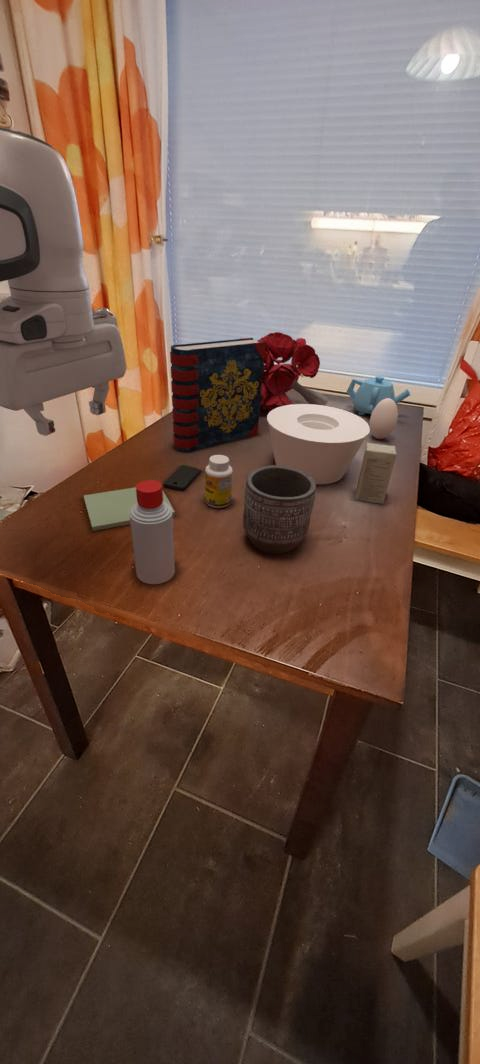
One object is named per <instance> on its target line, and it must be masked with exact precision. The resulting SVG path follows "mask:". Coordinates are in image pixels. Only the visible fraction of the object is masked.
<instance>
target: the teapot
mask: <svg viewBox="0 0 480 1064" xmlns="http://www.w3.org/2000/svg"><path fill="white" fill-rule="evenodd" d="M356 385H358V386H359V387H358V389H357V390H356V391H355V390H354V389H355V387H356ZM394 388H395V387H394V384H393V383H392V381H390V380H386V379H385V378H384V376H382V375H376V376H375V378H372V377H369V378H366V379H365V380H361V379H358V378H355V377H353V378H352V380H351V381H350V383H349V385H348V387H347V390H346V394H347V395H348V396H349V398H350V399H351V400H352V404H353V407H354V409H355V410H356V411H358V412H357V414H358V416H359V415H360V416H365V415H366V414H368V415H371V414H372V412H373V410H374V409H375V407H376V406H377V404H378V403H379V402H380V401H382V400H384V399H386V398H390V399H392V400H393V401H394V402H395V404H396V405H398V404H399V403H401V402H402V401H404V400H405V399H407V398H408V397H410V396H411V392H410V391H409V389H405V390H403V391H402V392H400V393H399V394H397V396H396V395H395V389H394Z"/></svg>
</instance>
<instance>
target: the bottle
mask: <svg viewBox="0 0 480 1064" xmlns="http://www.w3.org/2000/svg"><path fill="white" fill-rule="evenodd" d="M129 515H130V524H129V525H130V532H131V540H132V549H133V559H134V566H135V575H136V577H137V579H138V580H139V581H140V582H142V583H144V584H148V585H161V584H164V583H166V582H168V581H170V580H171V579H172V578H173V577H174V575H175V574H176V573H175V572H176V566H175V565H176V564H175V562H176V561H175V541H174V539H175V538H174V518H173V517H174V516H173V514H172V508H171V507H170V506H169V505H168V504H167V503H166V502H163V503H162V505H161V506H159V507H157V508H153V509H145V508H142V507H140V506H139V505H138V503H136V504H135V505H134V506H133V507H132V508H131V510H130V513H129Z"/></svg>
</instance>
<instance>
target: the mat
mask: <svg viewBox="0 0 480 1064" xmlns="http://www.w3.org/2000/svg"><path fill="white" fill-rule="evenodd" d="M83 501H84V504H85V508H86V511H87V515H88V519H89V523H90V526H91V529H92V532H95V531H96V532H97V531H101V530H106V529H112V528H117V527H123V526H127V525H131V524H130V515H129V513H130V510H131V508H132V507H133V506H134V505H135V504H136V503H138V502H137V496H136V486H135V487H130V488H129V487H128V488H122V489H115V490H111V491H110V490H109V491H103V492H97V493H90V494H84V495H83ZM163 502H166V503H167V504H168V505H169V506H170V507H171V508H172V514H173V517H176V511H175V509H174V508H173V506H172V504H171V502H170V500H169V498H168V497H167V495H166V494H165V492H164V490H163Z"/></svg>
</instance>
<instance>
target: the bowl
mask: <svg viewBox="0 0 480 1064" xmlns="http://www.w3.org/2000/svg"><path fill="white" fill-rule="evenodd" d="M266 420H267V426H268V431H269V437H270V442H271V446H272V453H273V457H274V461H275V465H278V466H286V467H291V468H295V469H298V470H301V471H303V472H305V473H307V474H308V475H310V476H311V477H312V478H313V479H314V481H315V483H316V485H328V484H332V483H336V482H338V481H340V480H341V479H343V477H344V476H345V474H346V472H347V471H348V469H349V467H350V465H351V464H352V462H353V460H354V458H355V457H356V455H357V453H358V452H359V450H360V448H361V447H362V445H363V444H364V442H365V440H366V438H367V437H368V435H369V433H370V432H371V430H370V426H369V423H368V422H367V421H366V420H365V419H364V418H362V417H361V416H359V415H356V414H354V413H353V412H350V411H347V410H345V409H341V408H337V407H333V406H328V405H326V406H323V405H314V404H309V403H291V405H285V406H281V407H278V408H275V409H273V410H272V411H269V412H268V414H267V415H266Z"/></svg>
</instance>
